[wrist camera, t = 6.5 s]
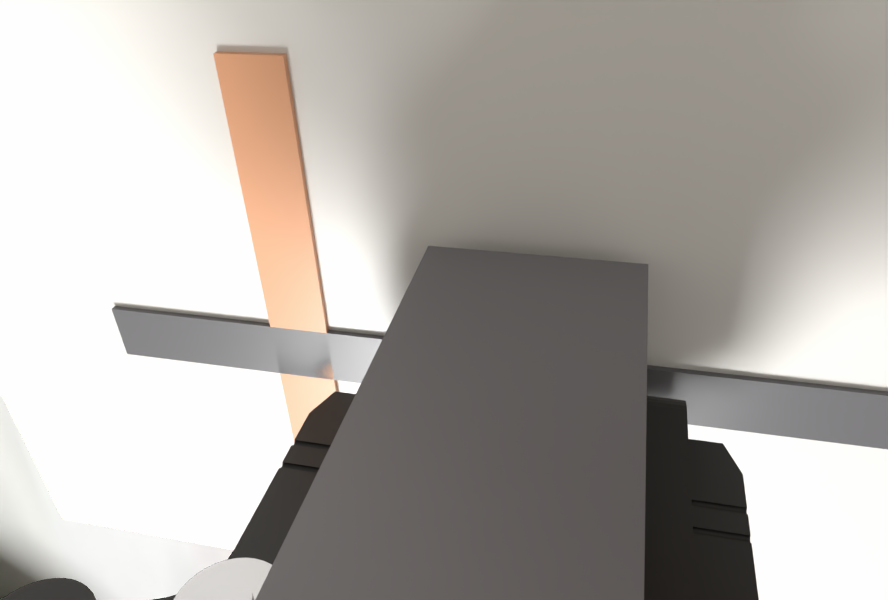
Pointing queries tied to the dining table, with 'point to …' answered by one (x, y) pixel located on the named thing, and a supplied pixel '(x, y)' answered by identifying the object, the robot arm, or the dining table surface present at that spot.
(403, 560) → the block
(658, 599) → the robot arm
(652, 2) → the console
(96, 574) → the dining table surface
